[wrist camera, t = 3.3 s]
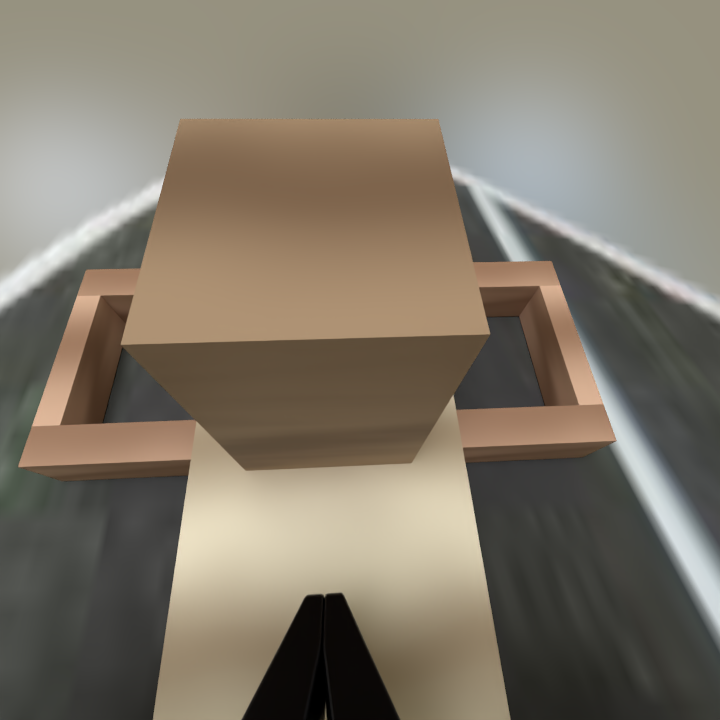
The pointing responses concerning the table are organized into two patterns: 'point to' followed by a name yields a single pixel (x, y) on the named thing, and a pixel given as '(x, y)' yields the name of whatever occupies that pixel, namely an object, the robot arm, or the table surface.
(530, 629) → the table surface
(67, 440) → the track
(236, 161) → the walnut block
